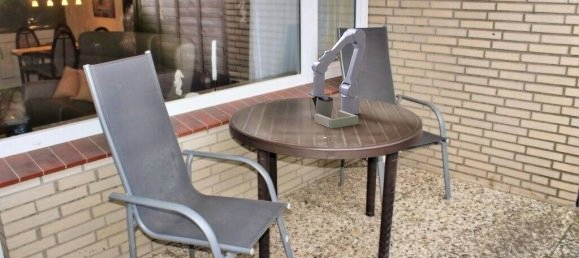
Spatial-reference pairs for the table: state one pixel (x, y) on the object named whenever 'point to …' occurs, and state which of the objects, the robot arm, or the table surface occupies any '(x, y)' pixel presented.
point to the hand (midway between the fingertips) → (317, 111)
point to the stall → (337, 120)
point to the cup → (324, 107)
